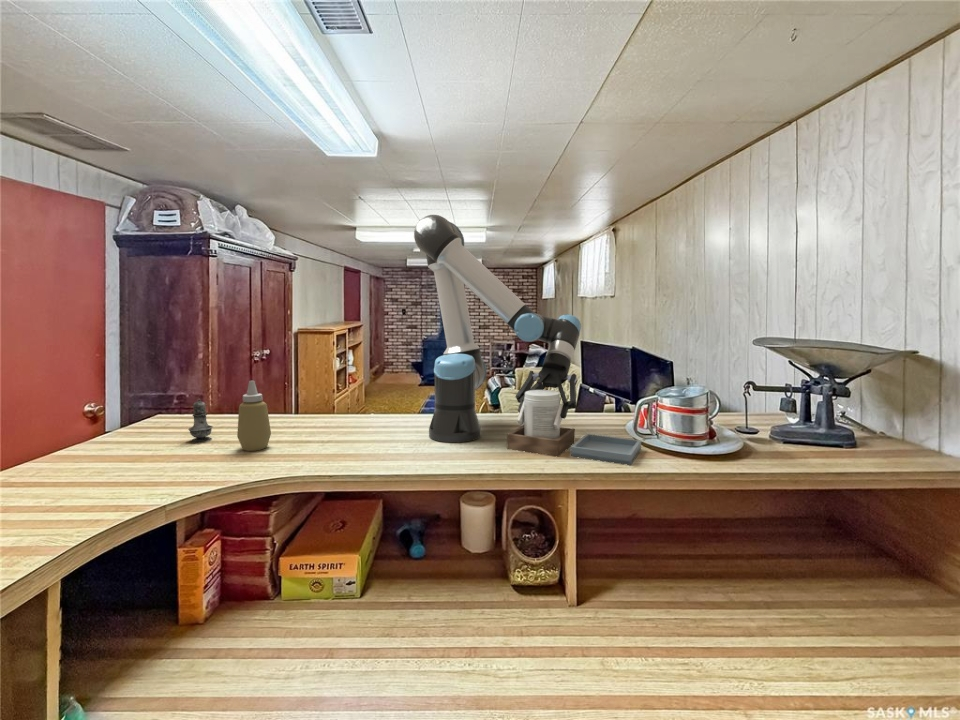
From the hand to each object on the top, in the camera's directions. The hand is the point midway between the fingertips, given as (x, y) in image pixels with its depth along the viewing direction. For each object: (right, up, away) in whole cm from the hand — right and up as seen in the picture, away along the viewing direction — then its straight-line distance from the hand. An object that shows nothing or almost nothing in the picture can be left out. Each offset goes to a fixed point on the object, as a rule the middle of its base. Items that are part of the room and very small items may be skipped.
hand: (537, 425), depth 125 cm
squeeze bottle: (-75, -6, +1) cm, 75 cm away
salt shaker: (-93, -6, +8) cm, 94 cm away
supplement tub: (+1, -6, +3) cm, 7 cm away
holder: (+1, -6, +3) cm, 7 cm away
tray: (+17, -7, -3) cm, 19 cm away
